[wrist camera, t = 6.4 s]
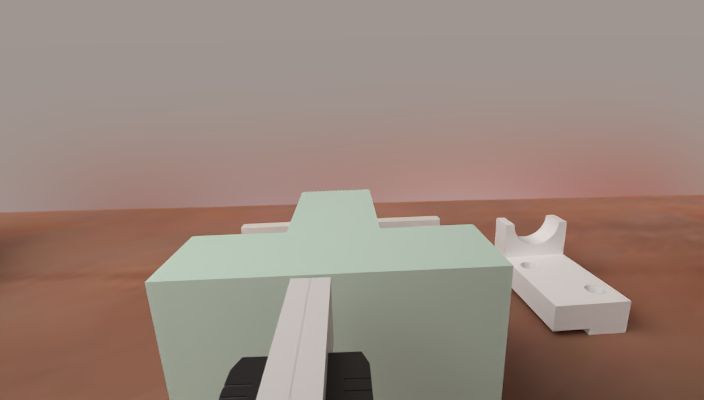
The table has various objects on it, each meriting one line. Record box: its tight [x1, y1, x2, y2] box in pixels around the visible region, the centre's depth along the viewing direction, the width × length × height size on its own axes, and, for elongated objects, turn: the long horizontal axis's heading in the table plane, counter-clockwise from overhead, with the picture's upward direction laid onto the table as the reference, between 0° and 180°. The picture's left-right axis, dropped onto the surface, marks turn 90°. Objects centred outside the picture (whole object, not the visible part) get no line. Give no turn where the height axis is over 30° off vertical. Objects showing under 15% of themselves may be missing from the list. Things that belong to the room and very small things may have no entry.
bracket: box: [495, 215, 632, 335], centre depth 40 cm, size 13×7×8 cm, turn 3°
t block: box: [145, 189, 513, 400], centre depth 28 cm, size 16×18×14 cm
